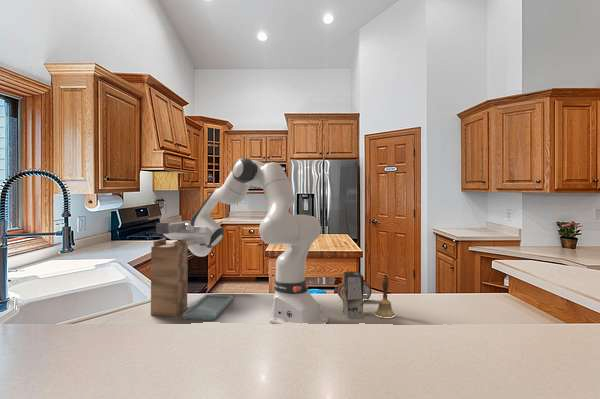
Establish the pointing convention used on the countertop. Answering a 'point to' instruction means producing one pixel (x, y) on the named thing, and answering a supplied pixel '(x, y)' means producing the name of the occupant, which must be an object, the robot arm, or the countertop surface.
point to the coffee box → (353, 294)
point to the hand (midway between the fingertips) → (180, 224)
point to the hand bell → (385, 301)
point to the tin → (365, 290)
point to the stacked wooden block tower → (169, 277)
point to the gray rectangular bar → (170, 227)
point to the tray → (208, 307)
